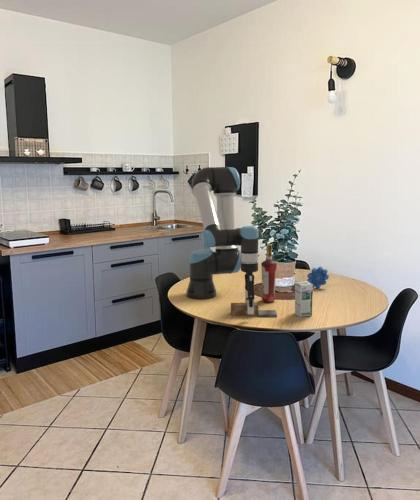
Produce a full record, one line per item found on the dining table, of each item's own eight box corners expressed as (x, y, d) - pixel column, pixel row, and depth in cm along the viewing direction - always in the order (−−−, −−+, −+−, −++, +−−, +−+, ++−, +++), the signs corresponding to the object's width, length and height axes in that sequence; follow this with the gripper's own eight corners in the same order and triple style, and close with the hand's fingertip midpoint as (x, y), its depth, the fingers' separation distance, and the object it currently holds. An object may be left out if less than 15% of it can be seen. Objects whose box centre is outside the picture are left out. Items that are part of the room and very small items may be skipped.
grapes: (326, 286, 241) (327, 264, 239) (329, 289, 234) (330, 267, 232) (305, 286, 242) (305, 264, 240) (307, 289, 235) (307, 267, 233)
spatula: (231, 317, 194) (231, 306, 193) (230, 312, 200) (230, 301, 199) (276, 317, 193) (277, 306, 192) (275, 312, 199) (275, 301, 198)
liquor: (258, 299, 218) (258, 244, 213) (271, 298, 220) (272, 242, 215) (265, 304, 211) (266, 246, 206) (278, 302, 214) (279, 245, 209)
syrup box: (300, 317, 192) (301, 284, 190) (294, 312, 198) (295, 281, 195) (312, 315, 194) (313, 283, 191) (305, 311, 200) (306, 280, 197)
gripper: (261, 267, 179) (260, 318, 183) (255, 256, 204) (255, 301, 208) (242, 268, 180) (242, 318, 183) (239, 257, 204) (239, 301, 208)
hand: (249, 309), depth 195 cm, fingers open, 13 cm apart
